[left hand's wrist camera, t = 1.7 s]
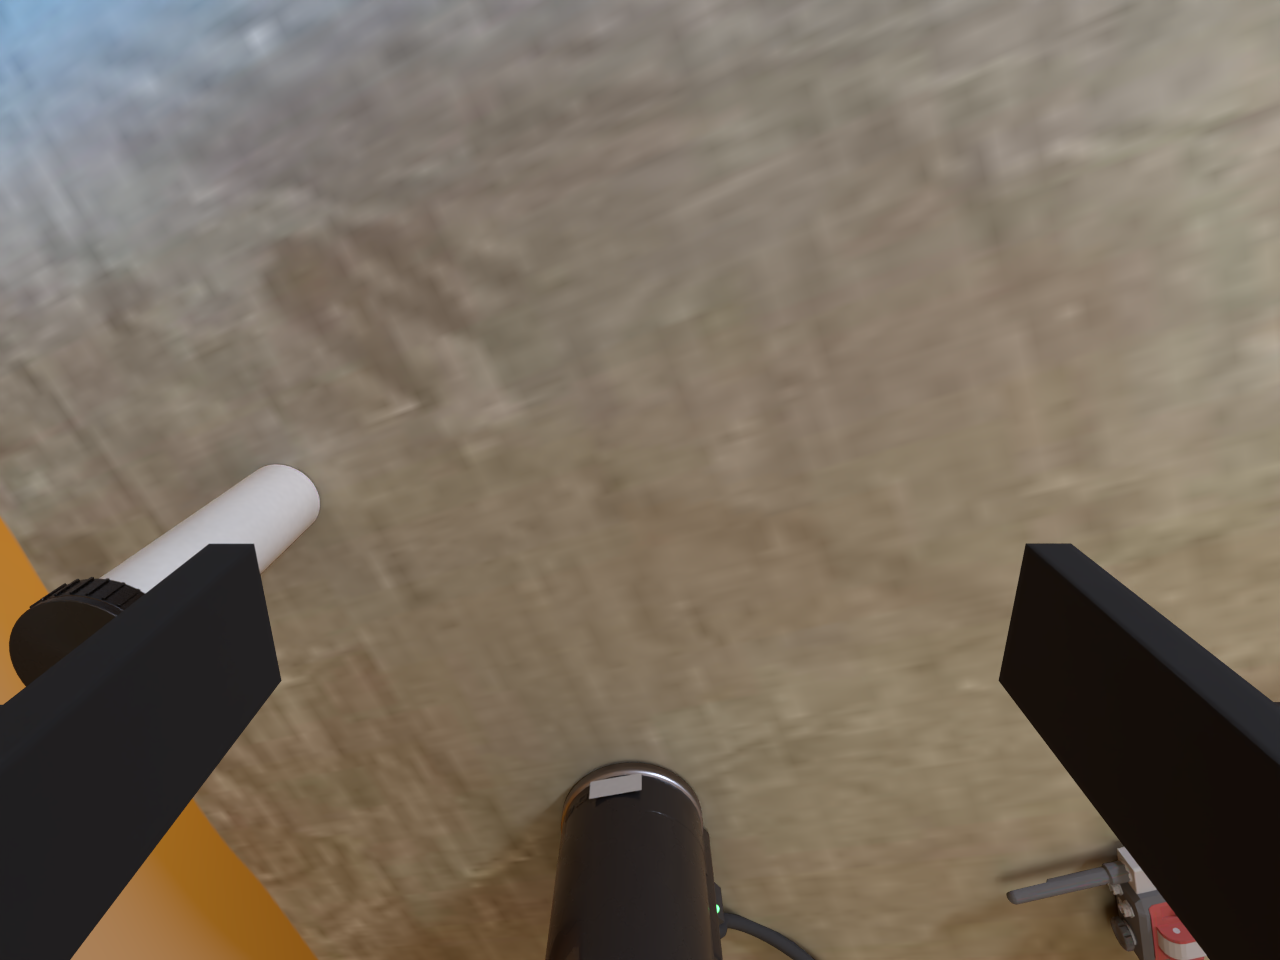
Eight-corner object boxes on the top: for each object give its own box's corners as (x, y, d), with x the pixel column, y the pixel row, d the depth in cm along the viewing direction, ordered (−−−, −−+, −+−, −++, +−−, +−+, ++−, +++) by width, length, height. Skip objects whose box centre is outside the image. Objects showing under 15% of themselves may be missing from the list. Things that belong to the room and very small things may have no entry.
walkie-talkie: (1296, 799, 50) (996, 869, 52) (1356, 854, 45) (1027, 927, 48) (1298, 893, 52) (1014, 955, 55) (1355, 952, 48) (1044, 1017, 50)
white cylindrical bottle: (230, 483, 42) (7, 633, 27) (291, 451, 41) (97, 588, 26) (274, 543, 43) (85, 719, 28) (335, 514, 43) (173, 677, 28)
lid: (11, 610, 28) (-26, 634, 27) (122, 553, 27) (90, 575, 26) (105, 714, 30) (75, 743, 28) (212, 664, 29) (187, 690, 27)
